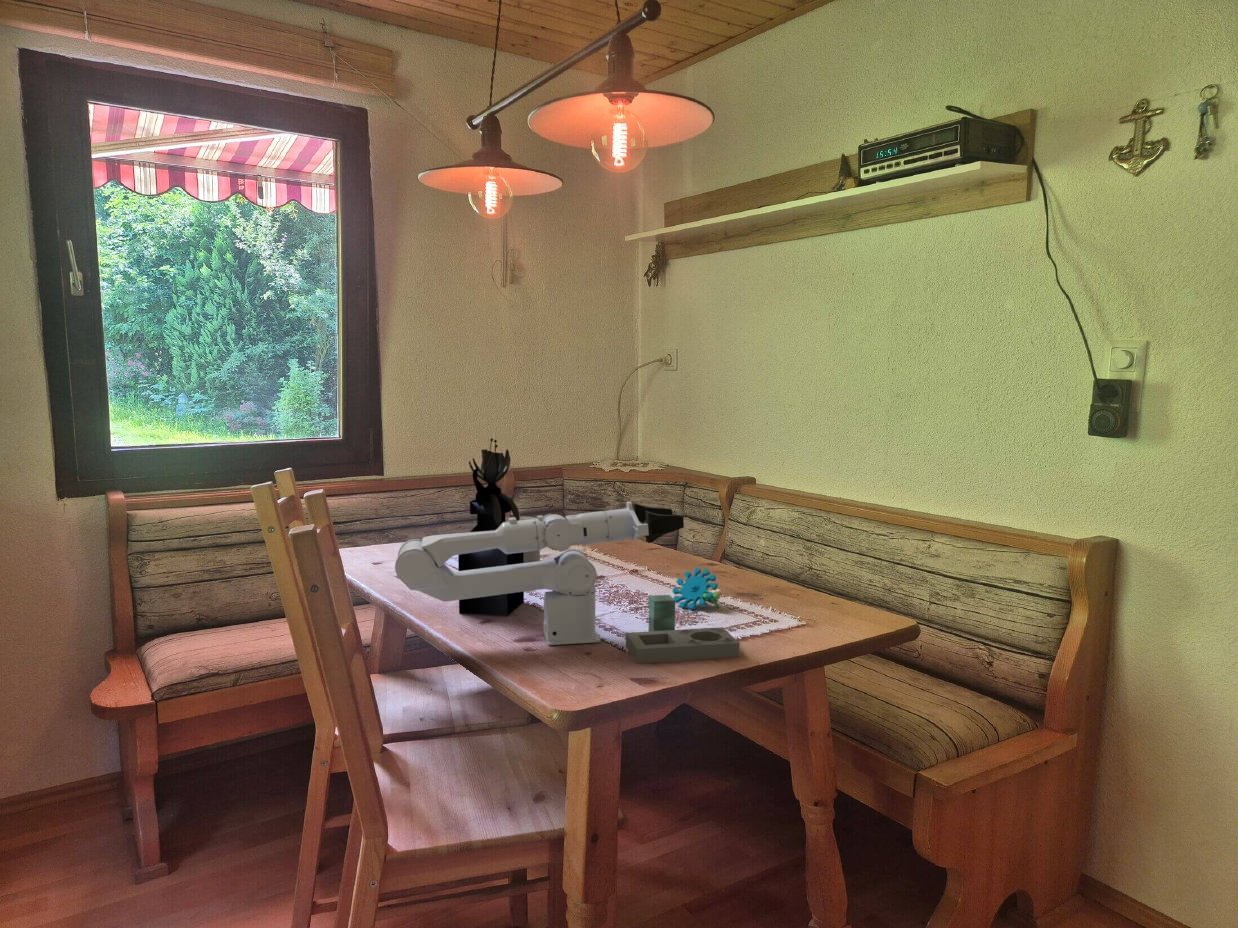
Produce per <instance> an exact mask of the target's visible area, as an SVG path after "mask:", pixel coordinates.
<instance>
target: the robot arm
mask: <svg viewBox="0 0 1238 928" xmlns="http://www.w3.org/2000/svg"><path fill="white" fill-rule="evenodd" d="M536 516H537V517H536V518H537V519H529V520H520V521H517V520H516V518H509V522H503V523H502V524H501V525H500V526H499V528H498V529H497V530H495V531H482V532H470V531H469V532H459V533H456V532H455V533H445V534H444V533H443V534H434V535H428V536H424V537H422V539H420V538H412V539H409V540H407V541H405V542H404V543H402V545H401V547H400V548H399V550H398V552H397V557H396V561H395V563H394V570H395V573H396V576H397V577H398V579H399V580H400V581H401V582H402V583H403V584H404V585H405V586H406V587H407V588H408V589H409V590H411V591H415V592H416V591H417V592H420V593H422V594H424V595H427V596H430V597H432V598H434V599H436V600H438V601H441V602H453V601H454V602H455V601H459V600H462V599H470V598H478V597H485V596H493V595H501V594H508V593H516V592H523V591H524V592H530V591H538V590H549V591H545V592H544V595H543V627H542V629H543V634H544V637H545V640H546V642H547V645H548V646H559V645H575V644H576V645H577V644H589V643H590V644H591V643H592V644H593V643H600V642H601V638H600V636H599V635H598V632H597V631H596V586H595V584H596V582H597V579H598V578H597V577H598V574H597V569H596V567H595V566H594V564H593V563H592V562H591V561H590V560H589V559H588V557H587V555H586V554H585V553H584V552H583V551H581V550H580V549H576V548H570V547H572V546H579V545H581V546H586V545H587V546H588V545H594V544H600V543H601V544H602V543H603V544H604V543H611V542H619V541H627V540H630V541H635V540H636V539H638V538H639V537H645V542H646V543H648V544H651V543H653V542H655V541H656V540H658V539H659V538H661V537H663V536H666V535H667V534H670V533H673V532H676V531H678V530H681V529H683V528H684V527H685V523H684V516H683V515H678V514H673V509H671V508H666V507H652V506H646V505H642V504H639V503H637V502H631V501H626V508H620V509H619V508H618V509H617V508H616V509H610V510H609V509H608V510H600V511H592V512H591V511H590V512H584V513H583V512H582V513H578V514H571V515H566V516H565V517H564V516H563V515H560V514H554V513H553V514H552V513H548V514H545V516H543V515H536ZM546 548H548V549H550V550H552V551H558V552H559V553H560V554H558V555H554V556H549V557H546V558H543V559H542V560H540V561H537V562H529V563H521V564H513V565H505V566H497V567H489V568H481V569H473V570H465V571H459V570H458V571H454V570H452V569H450V568H449V567H448V566H447V565H446V564H445V563H446V562H447V561H449V560H450V559H451V558H452V557H454V556H458V555H460V554H466V553H472V552H478V551H484V550H491V549H500V550H501V551H502V552H504V553H505V554H513V553H521V552H530V551H538V550H540V551H541V550H543V549H546ZM561 552H562V553H561Z"/></svg>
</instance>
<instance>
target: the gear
mask: <svg viewBox="0 0 1238 928" xmlns="http://www.w3.org/2000/svg"><path fill="white" fill-rule="evenodd" d="M693 571H694V572H693V574H692V572H691V571H689V570H688V571H685V572H684V576H685V577H686V579H685V582H684V580H683V579H682V578H681V577H680V578H678V579H677V580H676V581H675V582H676V584H677V585H678V586H680V587H682V588H681V589H679V588H678V587H677V586H675V587H673V589H672V593H673V594H674V597H673V599H674V600H675V604H679V606H680V608H682V609H683V608H685V609H686V608H687V607H688V608H689V610H691V609H692V611H694V610H696V606H697V603H698V605H699V606H700V607H704V606H706V605H707V602H708V603H709V604H711V605H715V607H716V609H720V608H721V605H720V604H719V602H718V601H719V600H720V595H719V594H718V592H711V591H709V590H708V589H709V588H711V589H712V590H713V591H716V590H717V589H718V587H719V585H718V584H717V582H716V581H717V577H716V575H715V573H712V574H711V572H710V570H709V569H708V568H704V570H703V571H702V570H701V568H699V567H695V568H694V569H693ZM709 581H710V582H709ZM679 595H680V596H679Z"/></svg>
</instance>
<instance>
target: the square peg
mask: <svg viewBox="0 0 1238 928" xmlns="http://www.w3.org/2000/svg"><path fill="white" fill-rule="evenodd" d="M665 630H676V602H675V600H674V597H672V596H671V594H659V595H657V594H655V595H648V631H665Z"/></svg>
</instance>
